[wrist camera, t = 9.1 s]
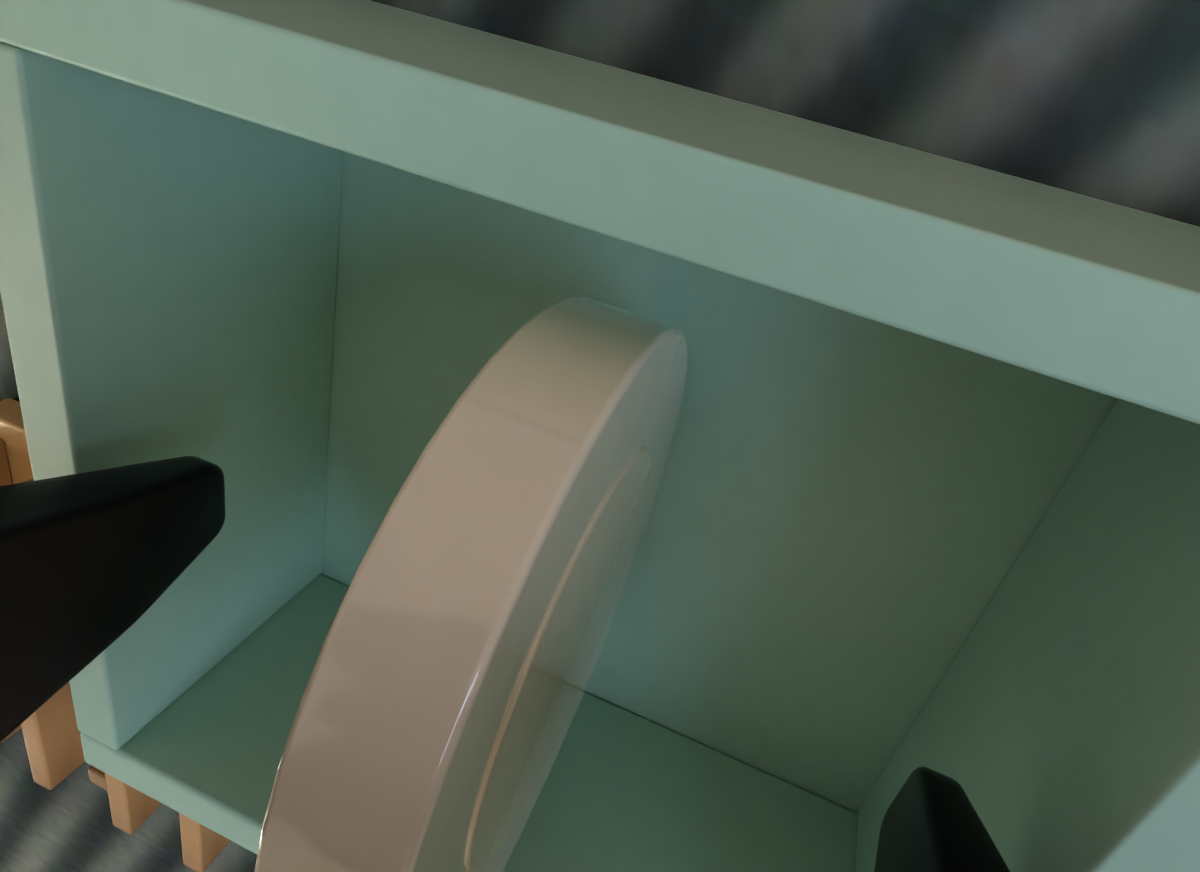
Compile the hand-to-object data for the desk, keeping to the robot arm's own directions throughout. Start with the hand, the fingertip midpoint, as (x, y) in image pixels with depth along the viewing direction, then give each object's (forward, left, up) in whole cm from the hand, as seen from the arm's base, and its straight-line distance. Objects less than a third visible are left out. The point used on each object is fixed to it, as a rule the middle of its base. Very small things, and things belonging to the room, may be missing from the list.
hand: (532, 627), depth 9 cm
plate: (0, 0, -4) cm, 4 cm away
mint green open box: (0, 0, -5) cm, 5 cm away
